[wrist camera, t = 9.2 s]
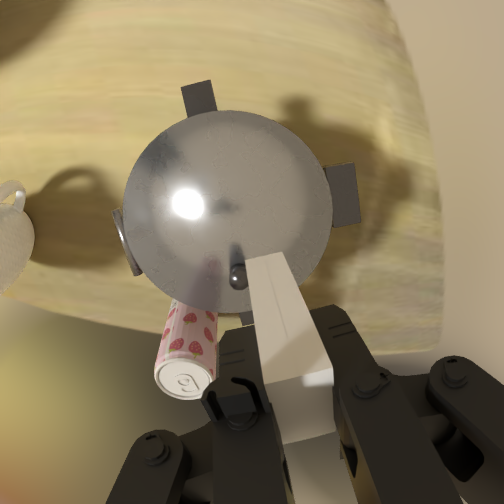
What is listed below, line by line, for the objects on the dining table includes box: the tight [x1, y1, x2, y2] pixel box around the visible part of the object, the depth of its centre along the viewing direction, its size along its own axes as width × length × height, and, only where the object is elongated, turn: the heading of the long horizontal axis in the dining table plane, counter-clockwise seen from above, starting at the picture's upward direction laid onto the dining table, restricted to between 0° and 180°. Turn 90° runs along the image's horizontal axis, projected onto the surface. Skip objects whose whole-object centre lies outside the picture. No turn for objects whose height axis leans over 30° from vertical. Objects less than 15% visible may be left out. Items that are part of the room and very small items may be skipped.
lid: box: [111, 110, 361, 313], centre depth 23 cm, size 17×20×3 cm
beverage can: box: [154, 298, 218, 400], centre depth 31 cm, size 6×6×15 cm
